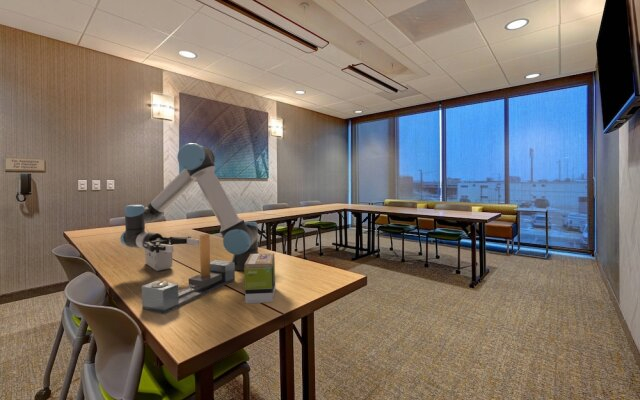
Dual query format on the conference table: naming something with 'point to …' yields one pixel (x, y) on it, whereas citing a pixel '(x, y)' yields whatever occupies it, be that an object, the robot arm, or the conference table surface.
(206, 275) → the carriage
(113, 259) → the conference table surface
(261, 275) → the tea box
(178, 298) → the rail
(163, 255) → the stereo radio cassette player
